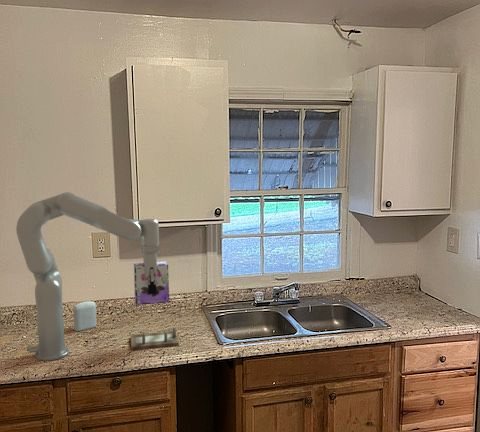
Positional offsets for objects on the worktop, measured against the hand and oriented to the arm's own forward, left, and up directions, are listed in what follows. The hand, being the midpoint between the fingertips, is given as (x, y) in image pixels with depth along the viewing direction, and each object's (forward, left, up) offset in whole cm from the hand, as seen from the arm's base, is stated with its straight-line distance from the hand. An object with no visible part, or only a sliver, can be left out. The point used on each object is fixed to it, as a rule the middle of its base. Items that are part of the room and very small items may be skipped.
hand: (151, 291), depth 203 cm
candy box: (0, 0, -5) cm, 5 cm away
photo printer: (-29, +25, -22) cm, 44 cm away
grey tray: (0, 0, -22) cm, 22 cm away
